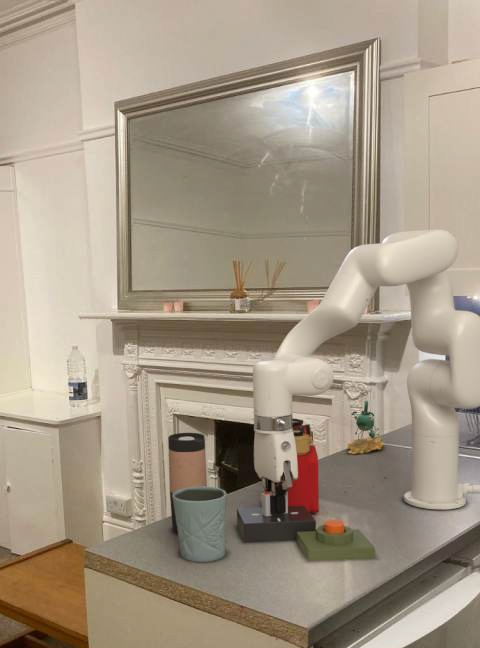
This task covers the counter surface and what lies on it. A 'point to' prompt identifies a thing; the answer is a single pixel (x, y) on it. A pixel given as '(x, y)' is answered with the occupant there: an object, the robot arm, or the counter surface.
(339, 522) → the button
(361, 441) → the green character figurine
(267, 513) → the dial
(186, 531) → the teal embossed cup
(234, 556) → the counter surface
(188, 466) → the travel mug
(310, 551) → the button block
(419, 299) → the robot arm
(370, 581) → the counter surface
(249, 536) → the plate
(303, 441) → the red coffee machine
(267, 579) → the counter surface
